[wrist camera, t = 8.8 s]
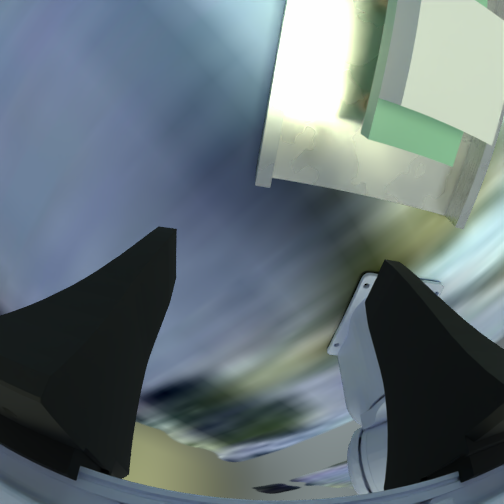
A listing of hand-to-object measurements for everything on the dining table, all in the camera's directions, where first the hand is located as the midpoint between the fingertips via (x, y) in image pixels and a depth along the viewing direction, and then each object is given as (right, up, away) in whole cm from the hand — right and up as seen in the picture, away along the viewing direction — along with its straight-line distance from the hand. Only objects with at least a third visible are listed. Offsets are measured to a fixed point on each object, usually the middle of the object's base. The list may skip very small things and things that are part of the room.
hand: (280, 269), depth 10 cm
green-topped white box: (+7, +10, 0) cm, 12 cm away
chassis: (+8, +12, +3) cm, 14 cm away
